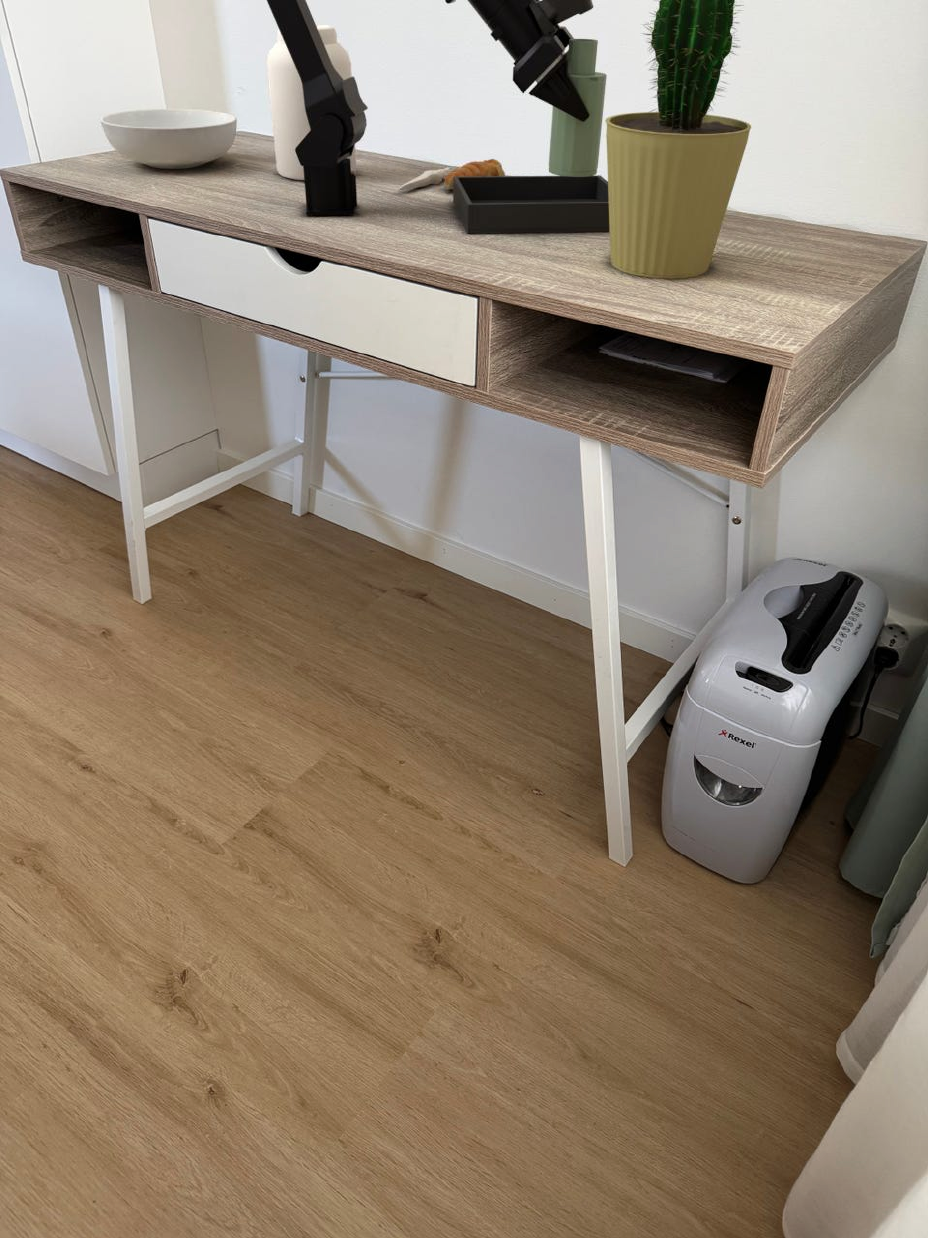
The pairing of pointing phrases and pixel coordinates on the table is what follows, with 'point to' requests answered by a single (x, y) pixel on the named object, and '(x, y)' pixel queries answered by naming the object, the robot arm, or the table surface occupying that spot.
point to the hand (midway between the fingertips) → (588, 114)
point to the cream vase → (297, 100)
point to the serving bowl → (170, 136)
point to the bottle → (570, 136)
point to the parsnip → (426, 179)
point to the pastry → (475, 171)
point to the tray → (532, 204)
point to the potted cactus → (676, 149)
